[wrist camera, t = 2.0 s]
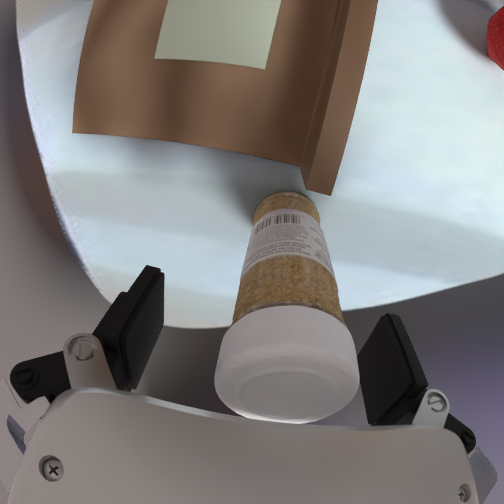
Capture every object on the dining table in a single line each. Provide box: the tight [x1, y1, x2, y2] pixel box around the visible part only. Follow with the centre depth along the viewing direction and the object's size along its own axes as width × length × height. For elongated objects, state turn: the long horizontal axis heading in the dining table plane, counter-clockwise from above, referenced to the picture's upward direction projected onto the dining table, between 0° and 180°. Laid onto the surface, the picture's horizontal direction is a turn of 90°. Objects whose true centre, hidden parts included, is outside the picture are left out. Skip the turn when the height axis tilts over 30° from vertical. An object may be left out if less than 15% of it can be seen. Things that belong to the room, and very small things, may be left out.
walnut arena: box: [72, 0, 378, 196], centre depth 10 cm, size 18×18×6 cm
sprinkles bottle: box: [214, 192, 360, 424], centre depth 14 cm, size 5×5×14 cm
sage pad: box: [154, 0, 281, 69], centre depth 12 cm, size 7×7×1 cm
